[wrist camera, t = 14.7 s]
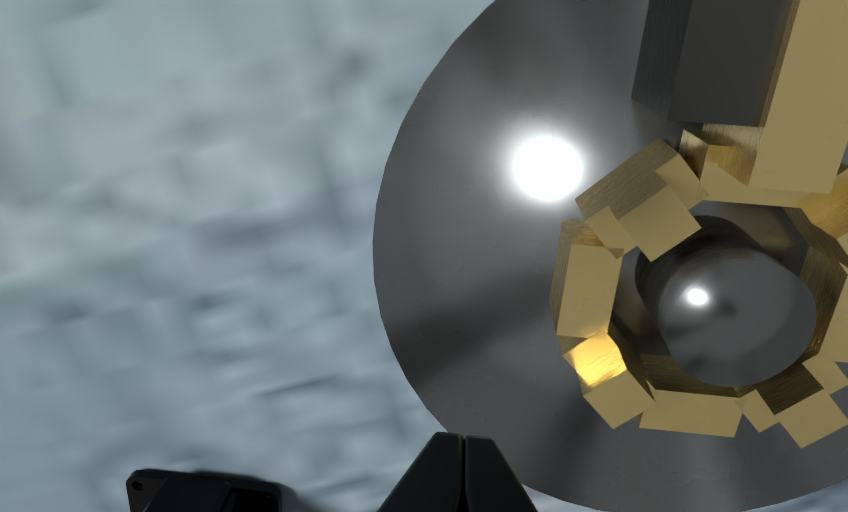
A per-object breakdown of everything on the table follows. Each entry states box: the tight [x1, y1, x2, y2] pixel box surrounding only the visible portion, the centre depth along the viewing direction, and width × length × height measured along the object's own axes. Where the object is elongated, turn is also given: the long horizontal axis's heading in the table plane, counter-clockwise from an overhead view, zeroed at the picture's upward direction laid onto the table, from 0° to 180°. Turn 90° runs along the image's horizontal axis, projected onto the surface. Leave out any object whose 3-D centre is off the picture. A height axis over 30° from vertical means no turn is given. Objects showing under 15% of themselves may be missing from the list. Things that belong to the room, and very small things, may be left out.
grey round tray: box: [373, 0, 848, 512], centre depth 18 cm, size 20×20×5 cm
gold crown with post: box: [549, 0, 848, 448], centre depth 15 cm, size 15×9×4 cm, turn 177°
